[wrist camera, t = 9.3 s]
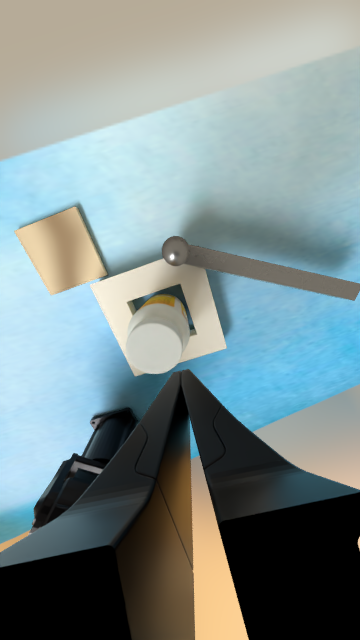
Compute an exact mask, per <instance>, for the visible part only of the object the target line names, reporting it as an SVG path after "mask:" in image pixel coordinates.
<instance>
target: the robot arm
mask: <svg viewBox="0 0 360 640" xmlns="http://www.w3.org/2000/svg"><path fill="white" fill-rule="evenodd" d="M190 421H191V424H192V428H193V432H194V436H195V440H196V443H197V447H198V451H199V455H200V458H201V462H202V466H203V470H204V474H205V477H206V481H207V485H208V489H209V493H210V496H211V500H212V504H213V508H214V512H215V516H216V520H217V524H218V527H219V531H220V535H221V539H222V542H223V546H224V550H225V553H226V557H227V561H228V565H229V568H230V571H231V576H232V579H233V583H234V587H235V590H236V593H237V598H238V601H239V605H240V609H241V612H242V616H243V620H244V624H245V627H246V631H247V635H248V638H249V640H360V550H359V547H358V539H359V537H360V490H358V489H355V488H353V487H350V486H347V485H344V484H341V483H338V482H335V481H332V480H329V479H326V478H323V477H321V476H317V475H314V474H312V473H309V472H306V471H304V470H302V469H300V468H298V467H296V466H295V465H293V464H291V463H290V462H289V461H287V460H286V459H284V458H283V457H282V456H280V455H279V454H278V453H277V452H276V451H274V450H273V449H272V448H271V447H270V446H268V445H267V444H266V443H265V442H263V441H262V440H261V439H260V438H259V437H257V436H256V435H255V434H254V433H252V432H251V431H250V430H249V429H248V428H246V427H245V426H244V425H243V424H242V423H241V422H240V421H238V420H237V419H236V418H235V417H234V416H233V415H232V414H231V413H230V412H229V411H228V410H227V409H226V408H225V407H224V406H223V405H222V404H221V403H220V401H219V400H218V399H217V398H216V397H215V396H214V395H213V394H212V393H211V392H210V391H209V390H208V389H207V388H206V387H205V386H204V385H203V383H202V382H201V381H200V380H199V379H198V378H197V377H196V376H195V375H194V374H193V373H192V372H191V371H190V370H189V369H187V370H183V371H178V372H174V373H173V374H172V375H171V377H170V378H169V380H168V381H167V382H166V384H165V385H164V387H163V388H162V390H161V391H160V393H159V394H158V396H157V397H156V398H155V400H154V401H153V403H152V404H151V406H150V407H149V409H148V410H147V412H146V413H145V415H144V416H143V417H142V419H141V420H140V423H139V422H138V420H137V419H136V418H135V416H134V414H133V412H132V410H131V409H130V408H126V409H122V410H119V411H115V412H112V413H109V414H105V415H102V416H98V417H95V418H92V419H91V421H90V424H91V425H92V427H93V428H94V432H93V434H92V436H91V438H90V440H89V442H88V444H87V446H86V448H85V450H84V452H83V454H82V456H79V455H78V454H76V453H73V455H72V457H71V459H69V460H67V461H63V463H62V464H61V466H60V468H59V470H58V471H57V473H56V475H55V476H54V478H53V479H52V481H51V482H50V484H49V485H48V487H47V488H46V490H45V491H44V493H43V494H42V496H41V497H40V499H39V500H38V502H37V503H36V505H35V507H34V517H35V518H34V520H33V523H32V525H33V527H32V529H31V531H30V533H29V535H28V536H27V537H25V538H24V539H22V540H20V541H18V542H17V543H15V544H13V545H12V546H10V547H9V548H7V549H5V550H4V551H2V552H0V640H195V624H194V623H195V622H194V578H193V540H192V500H191V499H192V498H191V497H192V496H191V453H190Z"/></svg>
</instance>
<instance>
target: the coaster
mask: <svg viewBox="0 0 360 640" xmlns="http://www.w3.org/2000/svg"><path fill="white" fill-rule="evenodd" d="M14 232H15V234H16V235H17V237H18V239H19V241H20V242H21V244H22V246H23V247H24V249H25V251H26V253H27V254H28V256H29V258H30V260H31V261H32V263H33V265H34V267H35V268H36V270H37V272H38V274H39V275H40V277H41V279H42V280H43V282H44V284H45V286H46V287H47V289H48V291H49V293H50V294H51V295H54V294H57V293H59V292H62V291H65V290H68V289H70V288H73V287H76V286H79V285H82V284H84V283H87V282H90V281H93V280H95V279H98V278H101V277H104V276H106V275H108V274H107V271H106V269H105V267H104V265H103V263H102V260H101V258H100V256H99V254H98V252H97V249H96V247H95V245H94V243H93V241H92V238H91V236H90V234H89V232H88V230H87V227H86V225H85V223H84V221H83V218H82V216H81V214H80V212H79V210H78V208H77V207H72V208H70V209H67V210H65V211H63V212H60V213H58V214H55V215H53V216H50V217H48V218H45V219H43V220H40V221H38V222H35V223H33V224H30V225H28V226H25V227H23V228H20V229H18V230H15V231H14Z"/></svg>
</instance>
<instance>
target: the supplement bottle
mask: <svg viewBox="0 0 360 640" xmlns="http://www.w3.org/2000/svg"><path fill="white" fill-rule="evenodd" d="M127 335H128V338H127V342H126V354H127V357H128V359H129V361H130V362H131V363H132V364H133V365H134V366H135V367H136V368H137V369H139V370H141V371H143V372H145V373H149V374H161V373H165V372H167V371H169V370H171V369H172V368H174V367H175V366H176V365H177V364H178V362H179V361H180V359H181V356H182V352H183V351H184V350H185V348H186V347H187V345H188V342H189V337H190V330H189V324H188V319H187V314H186V310H185V307H184V305H183V303H182V302H181V301H180V300H179V299H178V298H177V297H175V296H173V295H170V294H158V295H155V296H153V297H151V298H150V299H148V300H147V301H146V303H145V304H144V305H143V306H142V307H141V308H140V309H139V310H138V311H137V312H136V313H135V314H134V315H133V317H132V318H131V320H130V322H129V325H128V331H127Z"/></svg>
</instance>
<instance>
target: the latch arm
mask: <svg viewBox="0 0 360 640" xmlns="http://www.w3.org/2000/svg"><path fill="white" fill-rule="evenodd" d="M162 255H163V258H164V260H165V261H166V262H167V263H168V264H170V265H172V266H180V265H182V264H186V265H190V266H195V267H199V268H204V269H208V270H213V271H218V272H222V273H227V274H231V275H236V276H241V277H245V278H250V279H254V280H259V281H263V282H268V283H273V284H277V285H282V286H286V287H291V288H295V289H300V290H305V291H309V292H314V293H318V294H323V295H327V296H332V297H337V298H342V299H348V300H353V301H355V299H356V297H357V295H358V293H359V291H360V284H359V283H355V282H350V281H346V280H342V279H337V278H333V277H328V276H324V275H320V274H315V273H311V272H307V271H302V270H298V269H294V268H289V267H285V266H281V265H276V264H272V263H267V262H263V261H259V260H254V259H250V258H246V257H241V256H237V255H233V254H228V253H224V252H219V251H215V250H211V249H206V248H202V247H198V246H193V245H189V244H188V243H187V242H186V241H185V240H184V239H183V238H181V237H179V236H173V237H170V238H168V239H167V240H166V241H165V242H164V244H163V247H162Z"/></svg>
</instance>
